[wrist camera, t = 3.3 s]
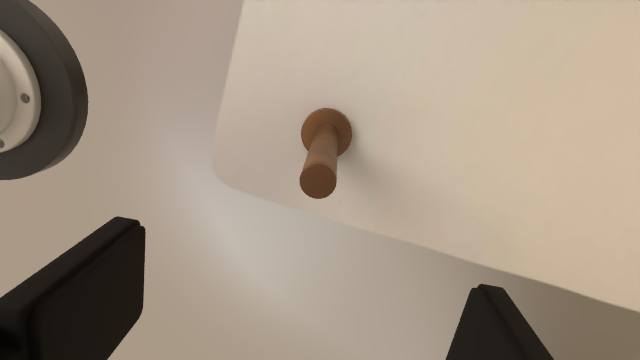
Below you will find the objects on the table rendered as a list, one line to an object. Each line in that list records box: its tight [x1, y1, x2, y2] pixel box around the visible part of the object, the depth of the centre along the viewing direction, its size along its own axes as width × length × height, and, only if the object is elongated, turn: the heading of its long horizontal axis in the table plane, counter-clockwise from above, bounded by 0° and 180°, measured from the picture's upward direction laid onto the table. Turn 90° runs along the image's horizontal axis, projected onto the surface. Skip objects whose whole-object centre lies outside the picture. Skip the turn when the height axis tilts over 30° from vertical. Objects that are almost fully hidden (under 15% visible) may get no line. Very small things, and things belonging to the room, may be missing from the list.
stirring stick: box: [300, 108, 352, 199], centre depth 27 cm, size 4×4×14 cm
